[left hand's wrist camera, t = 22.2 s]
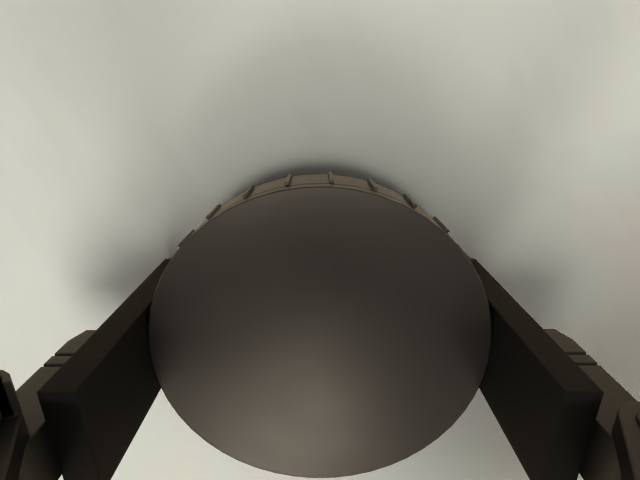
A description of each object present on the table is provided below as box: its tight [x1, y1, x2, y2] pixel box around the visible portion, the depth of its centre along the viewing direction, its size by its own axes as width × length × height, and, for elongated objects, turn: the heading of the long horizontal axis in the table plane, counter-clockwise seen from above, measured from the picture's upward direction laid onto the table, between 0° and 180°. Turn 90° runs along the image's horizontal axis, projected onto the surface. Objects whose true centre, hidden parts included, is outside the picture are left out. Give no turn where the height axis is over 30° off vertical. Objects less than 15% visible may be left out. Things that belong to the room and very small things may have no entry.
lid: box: [148, 171, 491, 478], centre depth 11 cm, size 10×10×2 cm
